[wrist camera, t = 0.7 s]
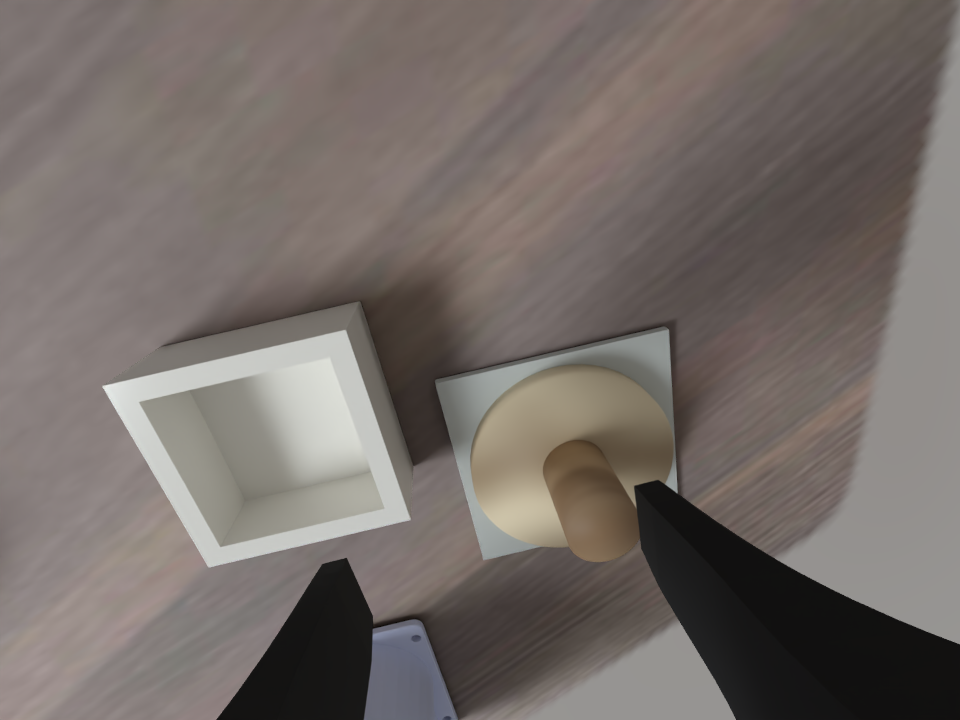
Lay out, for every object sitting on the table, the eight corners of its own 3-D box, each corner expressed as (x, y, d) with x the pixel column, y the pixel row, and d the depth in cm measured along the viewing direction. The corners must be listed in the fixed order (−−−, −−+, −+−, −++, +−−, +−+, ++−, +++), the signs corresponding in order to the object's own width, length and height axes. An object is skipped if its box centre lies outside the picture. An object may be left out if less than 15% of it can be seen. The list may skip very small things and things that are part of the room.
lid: (668, 508, 24) (726, 591, 19) (491, 550, 24) (506, 644, 19) (657, 342, 20) (725, 395, 16) (449, 391, 20) (455, 458, 15)
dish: (413, 467, 22) (410, 519, 18) (241, 507, 22) (208, 567, 18) (360, 301, 19) (346, 329, 15) (159, 347, 19) (102, 386, 15)
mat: (675, 508, 24) (678, 514, 24) (482, 554, 24) (483, 560, 24) (664, 326, 20) (668, 329, 20) (435, 379, 20) (435, 383, 20)
